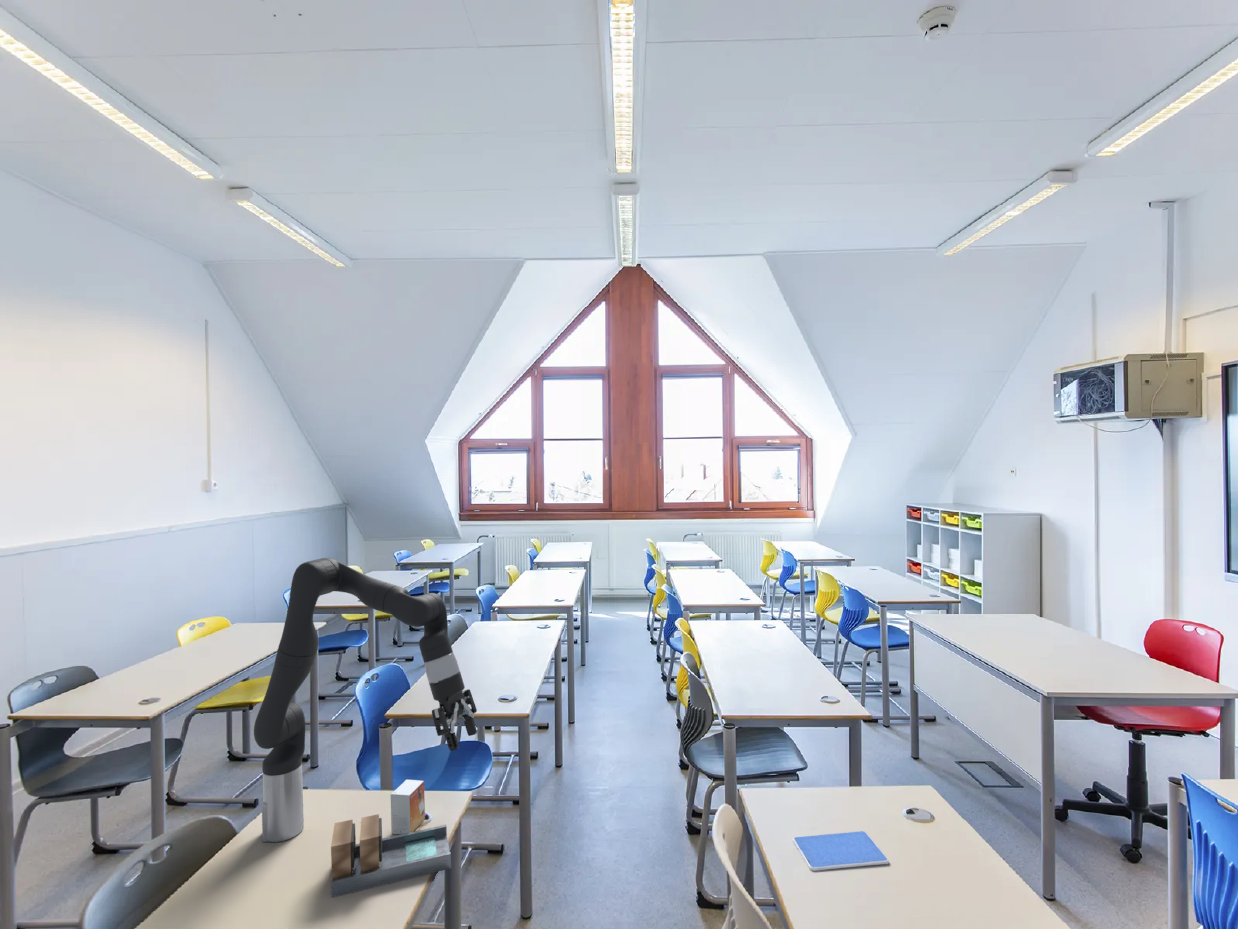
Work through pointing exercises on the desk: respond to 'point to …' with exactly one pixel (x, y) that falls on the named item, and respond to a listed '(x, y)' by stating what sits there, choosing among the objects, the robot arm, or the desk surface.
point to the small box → (407, 807)
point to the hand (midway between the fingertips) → (463, 742)
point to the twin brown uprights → (346, 846)
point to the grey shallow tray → (400, 860)
